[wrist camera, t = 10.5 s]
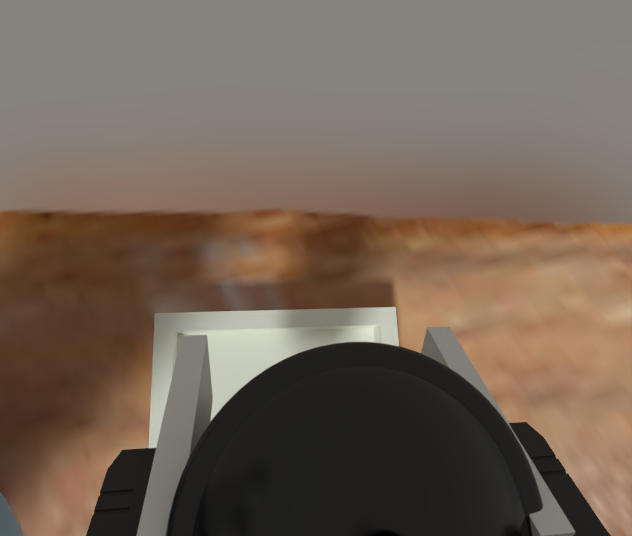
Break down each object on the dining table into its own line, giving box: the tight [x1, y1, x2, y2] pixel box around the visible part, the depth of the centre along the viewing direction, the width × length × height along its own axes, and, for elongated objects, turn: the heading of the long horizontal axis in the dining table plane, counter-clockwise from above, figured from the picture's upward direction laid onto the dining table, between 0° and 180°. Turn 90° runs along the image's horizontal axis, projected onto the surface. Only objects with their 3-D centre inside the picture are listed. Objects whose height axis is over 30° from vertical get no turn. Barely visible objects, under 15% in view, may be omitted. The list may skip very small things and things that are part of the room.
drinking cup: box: [166, 342, 543, 536], centre depth 12 cm, size 8×8×20 cm
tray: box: [149, 307, 399, 448], centre depth 28 cm, size 16×14×2 cm
